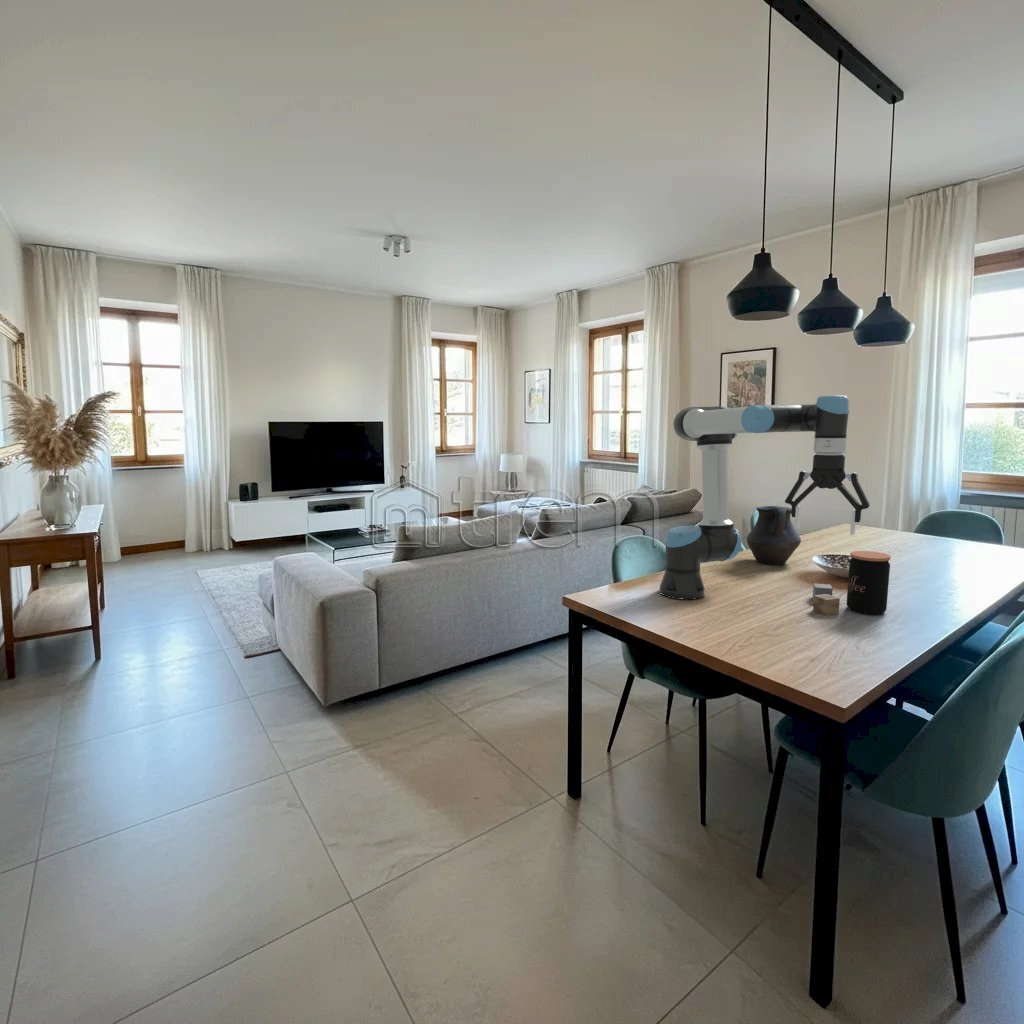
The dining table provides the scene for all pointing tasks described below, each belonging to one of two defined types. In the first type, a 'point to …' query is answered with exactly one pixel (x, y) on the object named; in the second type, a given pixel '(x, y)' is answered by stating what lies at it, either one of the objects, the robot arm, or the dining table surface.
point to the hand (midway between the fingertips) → (824, 531)
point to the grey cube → (822, 589)
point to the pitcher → (773, 535)
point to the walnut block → (826, 604)
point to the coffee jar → (868, 582)
